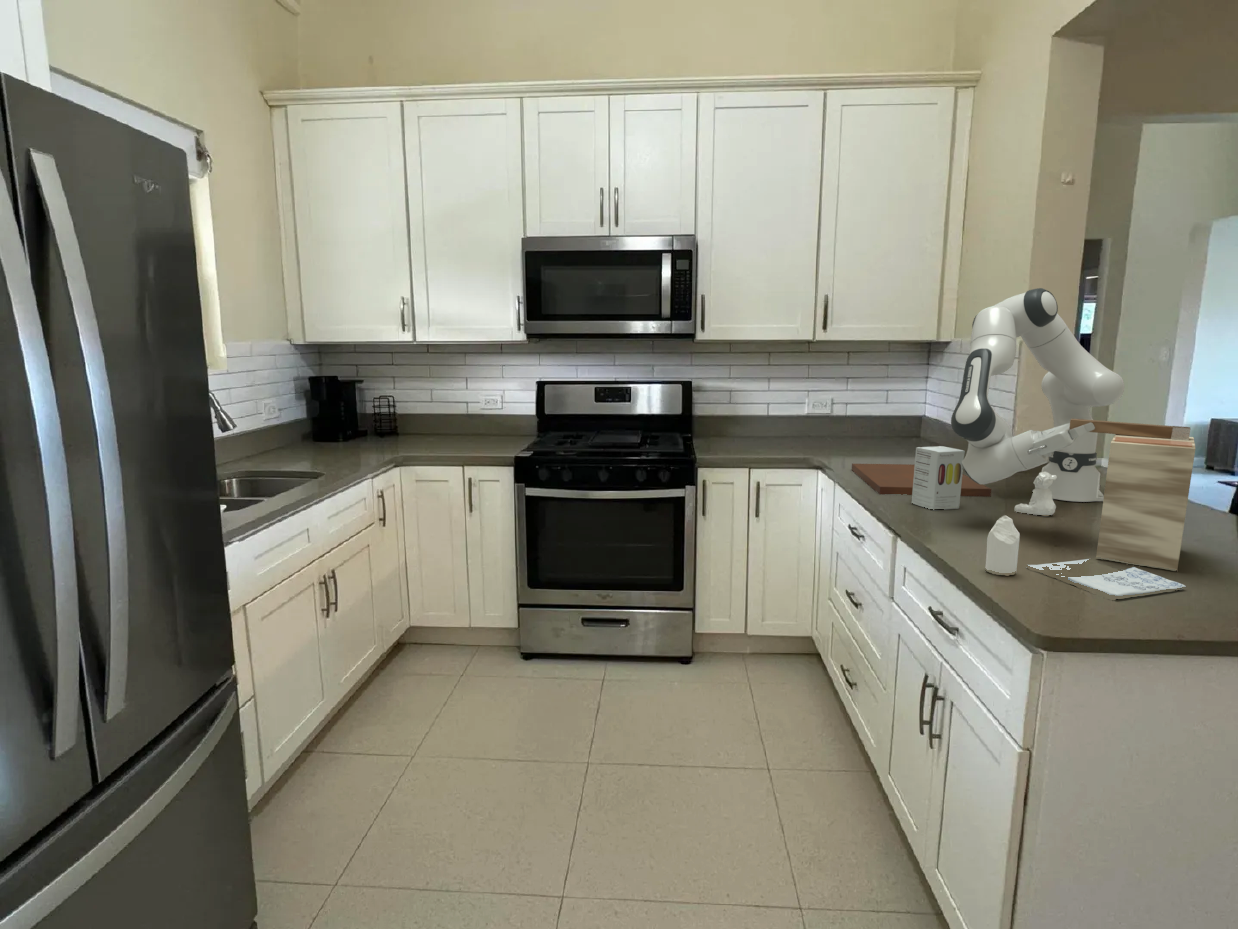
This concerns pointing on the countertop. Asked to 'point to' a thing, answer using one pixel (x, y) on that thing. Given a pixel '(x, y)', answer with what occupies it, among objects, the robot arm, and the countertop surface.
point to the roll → (1002, 546)
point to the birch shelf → (1145, 500)
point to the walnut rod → (1135, 429)
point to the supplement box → (937, 477)
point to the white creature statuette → (1040, 497)
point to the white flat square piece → (1118, 580)
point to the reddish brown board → (906, 479)
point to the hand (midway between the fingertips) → (1094, 424)
